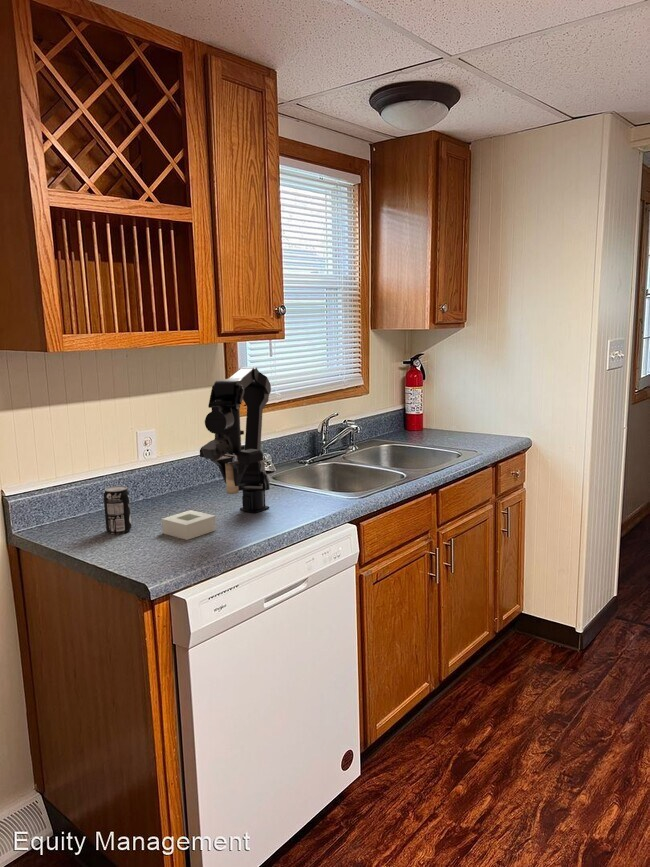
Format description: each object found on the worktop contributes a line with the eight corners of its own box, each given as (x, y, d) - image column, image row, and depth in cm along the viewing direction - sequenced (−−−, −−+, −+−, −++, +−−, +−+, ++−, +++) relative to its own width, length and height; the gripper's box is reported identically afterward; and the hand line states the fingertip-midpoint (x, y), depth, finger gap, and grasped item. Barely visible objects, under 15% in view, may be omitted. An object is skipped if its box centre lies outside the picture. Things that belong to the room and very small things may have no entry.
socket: (191, 523, 186) (190, 510, 185) (216, 530, 180) (215, 515, 179) (162, 533, 178) (161, 518, 178) (187, 539, 172) (186, 525, 171)
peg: (232, 490, 181) (231, 461, 180) (241, 492, 179) (239, 462, 178) (224, 493, 179) (222, 463, 178) (232, 494, 177) (231, 465, 176)
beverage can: (122, 526, 186) (119, 484, 184) (136, 530, 181) (133, 487, 179) (101, 532, 181) (98, 489, 179) (115, 536, 176) (112, 492, 174)
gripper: (182, 429, 176) (186, 486, 178) (232, 434, 164) (235, 496, 167) (213, 423, 185) (216, 478, 187) (263, 428, 173) (265, 487, 176)
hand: (232, 485), depth 179 cm, fingers closed on peg, 3 cm apart
